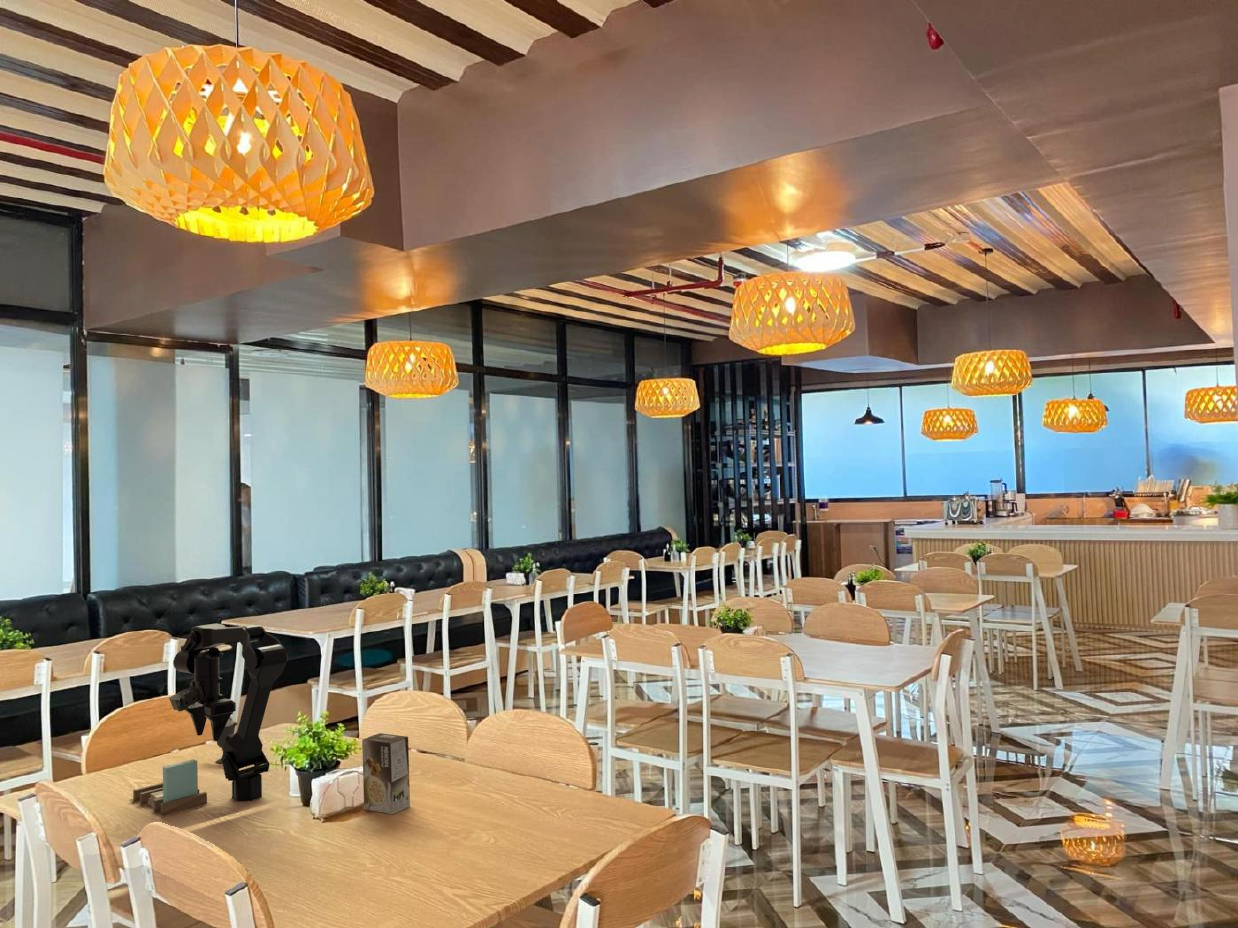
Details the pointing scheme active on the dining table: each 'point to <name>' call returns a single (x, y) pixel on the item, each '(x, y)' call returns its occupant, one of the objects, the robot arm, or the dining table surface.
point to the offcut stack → (155, 797)
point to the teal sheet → (180, 780)
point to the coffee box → (386, 773)
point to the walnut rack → (170, 807)
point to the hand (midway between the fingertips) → (207, 737)
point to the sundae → (226, 734)
